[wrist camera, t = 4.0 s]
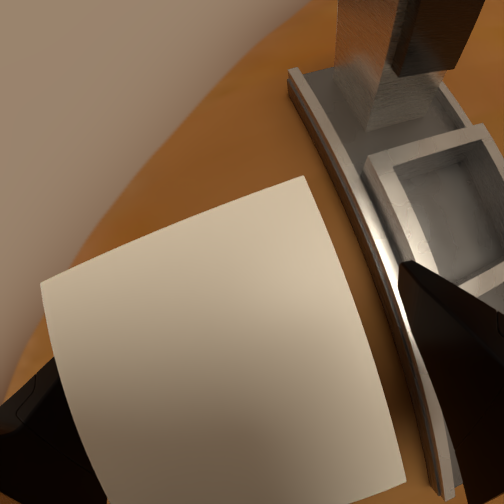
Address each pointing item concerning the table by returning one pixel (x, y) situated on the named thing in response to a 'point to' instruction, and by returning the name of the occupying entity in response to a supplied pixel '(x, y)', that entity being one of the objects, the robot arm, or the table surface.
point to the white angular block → (224, 362)
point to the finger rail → (410, 171)
